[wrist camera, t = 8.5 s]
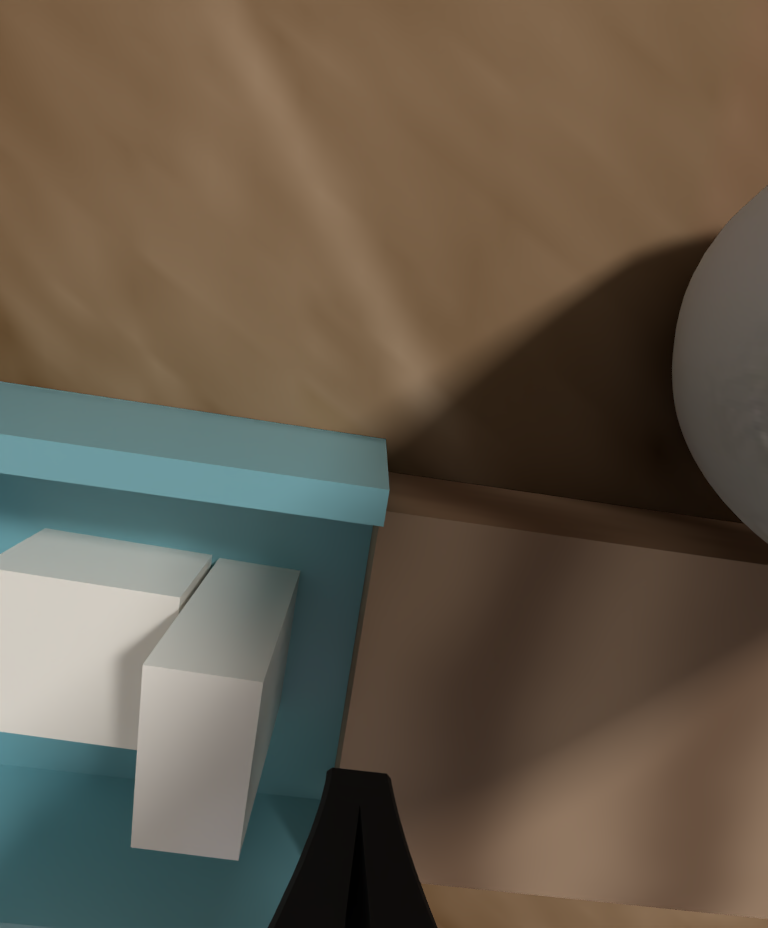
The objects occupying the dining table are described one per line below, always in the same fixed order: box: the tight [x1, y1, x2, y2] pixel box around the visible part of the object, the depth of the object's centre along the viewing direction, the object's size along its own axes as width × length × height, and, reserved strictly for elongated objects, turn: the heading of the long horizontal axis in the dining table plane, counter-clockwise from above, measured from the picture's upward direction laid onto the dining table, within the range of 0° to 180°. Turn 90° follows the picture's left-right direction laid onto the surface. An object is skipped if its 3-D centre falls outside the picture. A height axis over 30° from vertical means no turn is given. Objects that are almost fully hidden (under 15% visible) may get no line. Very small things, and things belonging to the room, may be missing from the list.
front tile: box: [131, 558, 300, 861], centre depth 13 cm, size 5×5×2 cm
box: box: [0, 382, 390, 928], centre depth 14 cm, size 14×14×5 cm
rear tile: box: [0, 528, 212, 750], centre depth 14 cm, size 5×5×2 cm
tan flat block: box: [334, 472, 768, 919], centre depth 15 cm, size 20×12×4 cm, turn 81°
